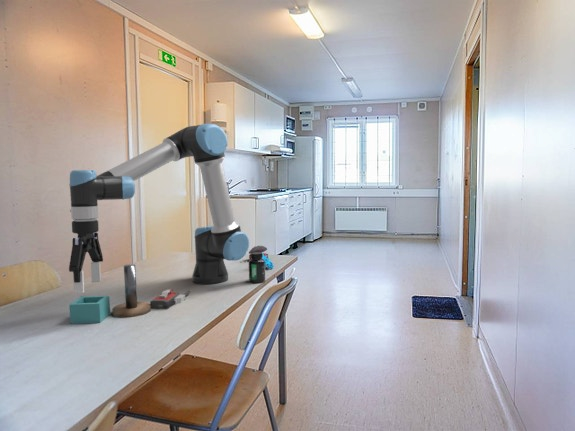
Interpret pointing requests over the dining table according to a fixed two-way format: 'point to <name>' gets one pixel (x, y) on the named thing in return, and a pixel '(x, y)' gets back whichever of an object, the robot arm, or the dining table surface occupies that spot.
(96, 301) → the collar
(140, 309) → the post base
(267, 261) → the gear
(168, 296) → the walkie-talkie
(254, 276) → the supplement bottle
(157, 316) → the dining table surface
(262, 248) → the dark mushroom
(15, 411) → the dining table surface
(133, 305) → the post
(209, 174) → the robot arm
